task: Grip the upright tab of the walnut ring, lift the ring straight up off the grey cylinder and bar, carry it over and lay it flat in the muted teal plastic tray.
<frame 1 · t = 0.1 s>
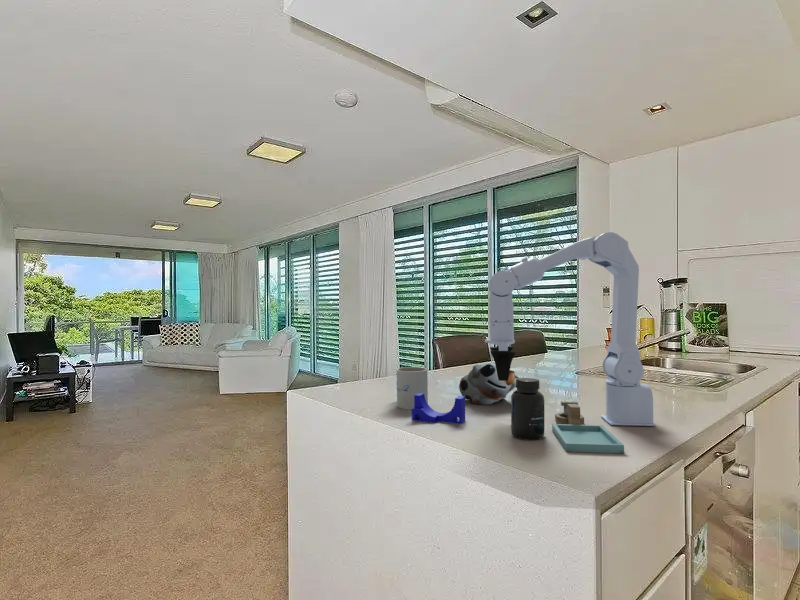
hand: (502, 377, 109), 10 cm above the counter, fingers open, 7 cm apart
mug: (410, 404, 126), on the counter
lucky cat figurine: (488, 402, 128), on the counter
tray: (585, 441, 91), on the counter
grey cylinder and bar: (569, 422, 105), on the counter
supplement bottle: (528, 437, 95), on the counter
ring: (569, 422, 105), on the counter
blue curved cradle: (438, 422, 108), on the counter
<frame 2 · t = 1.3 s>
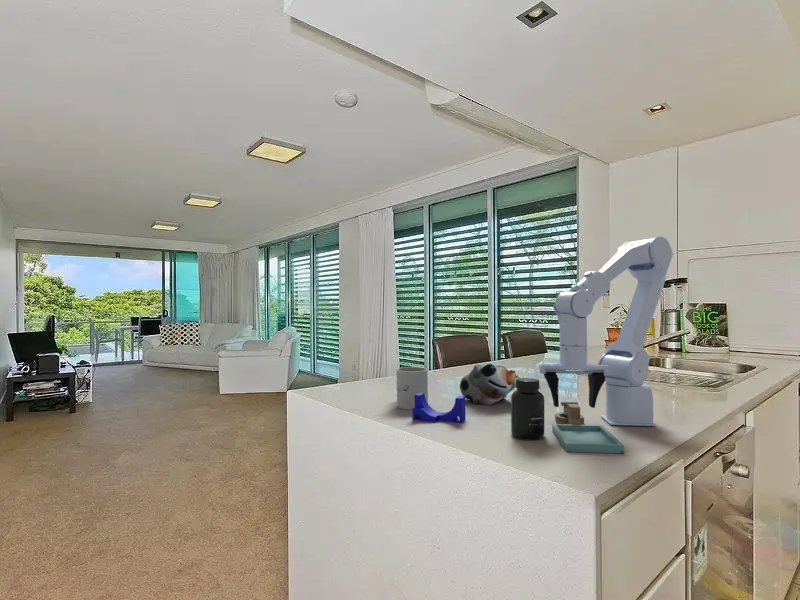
hand: (573, 406, 100), 5 cm above the counter, fingers open, 7 cm apart
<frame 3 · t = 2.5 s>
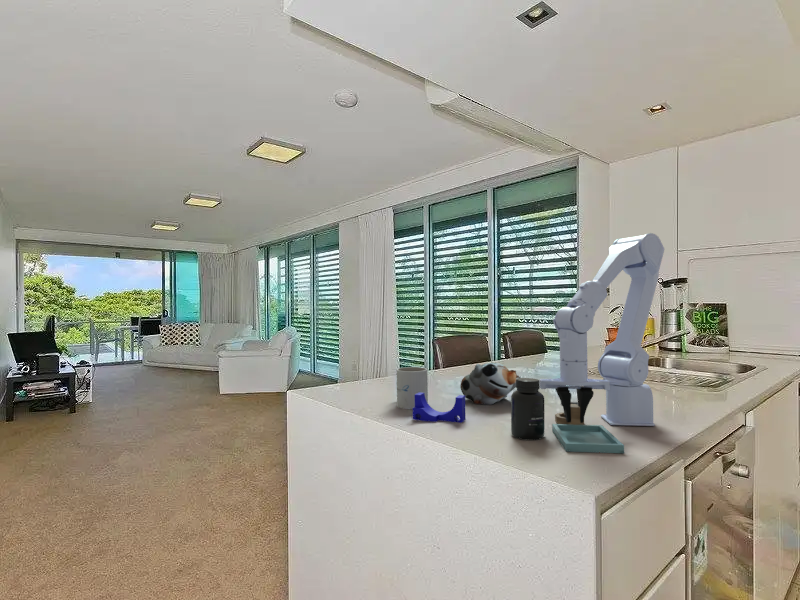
hand: (574, 421, 100), 2 cm above the counter, fingers closed on ring
ring: (569, 422, 105), on the counter, touching gripper
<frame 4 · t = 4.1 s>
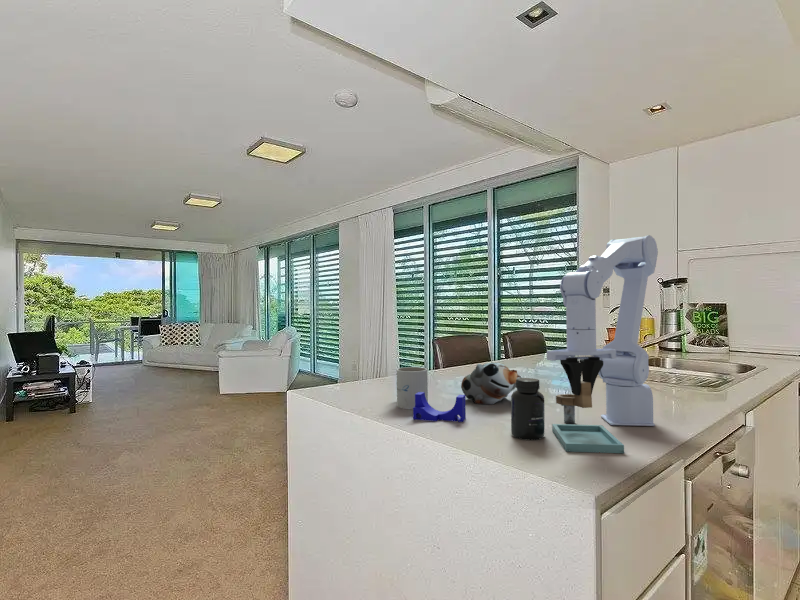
hand: (581, 394, 94), 9 cm above the counter, fingers closed on ring
ring: (571, 403, 97), point 6 cm above the counter, touching gripper
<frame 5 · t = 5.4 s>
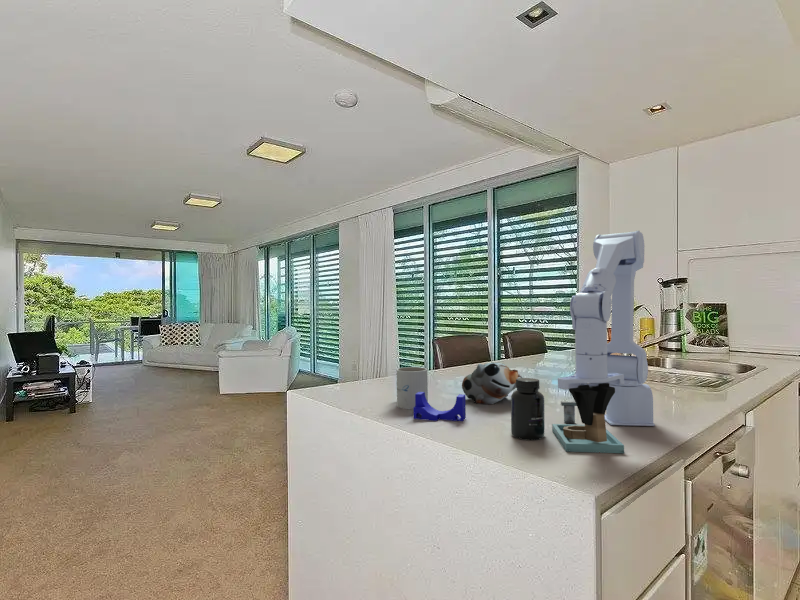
hand: (592, 423, 87), 5 cm above the counter, fingers closed on ring
ring: (579, 436, 91), point 1 cm above the counter, tilted 6°, touching gripper
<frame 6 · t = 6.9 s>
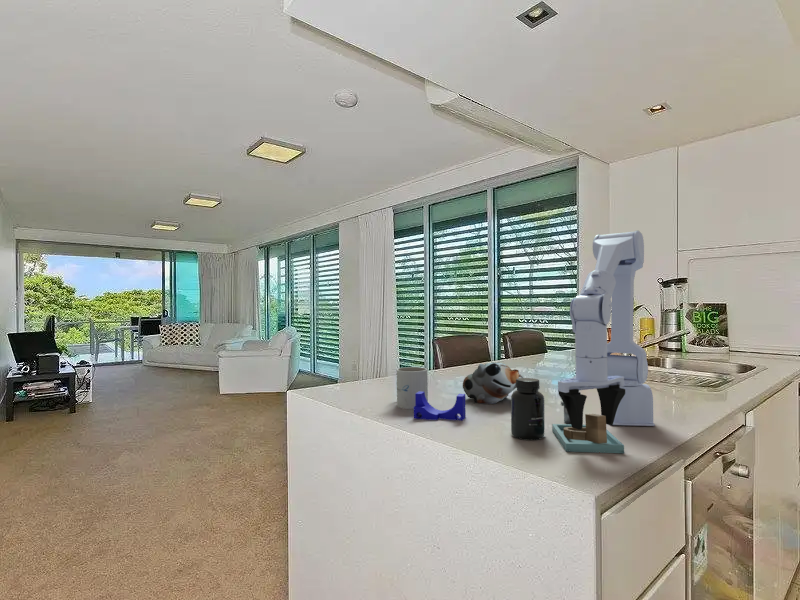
hand: (592, 426, 87), 4 cm above the counter, fingers open, 7 cm apart
ring: (579, 437, 91), point 1 cm above the counter, tilted 7°, touching tray
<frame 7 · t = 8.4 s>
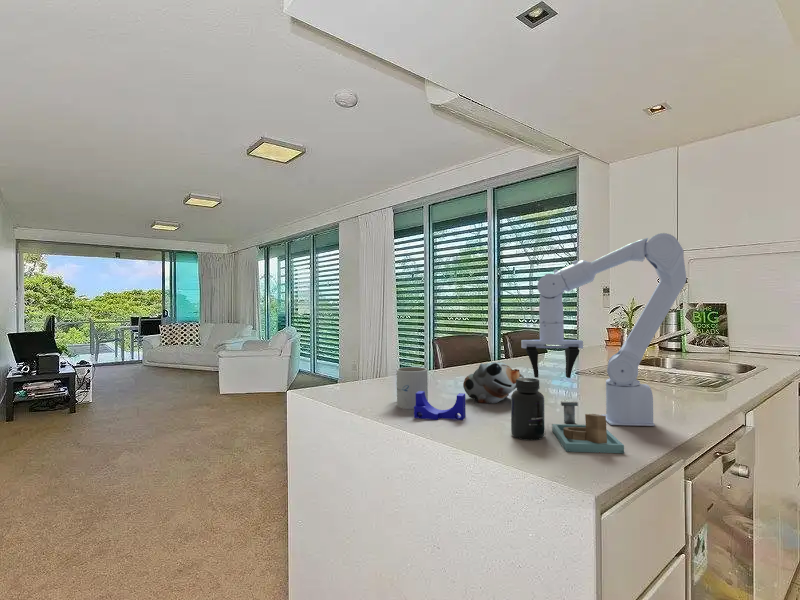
hand: (552, 377, 112), 9 cm above the counter, fingers open, 7 cm apart
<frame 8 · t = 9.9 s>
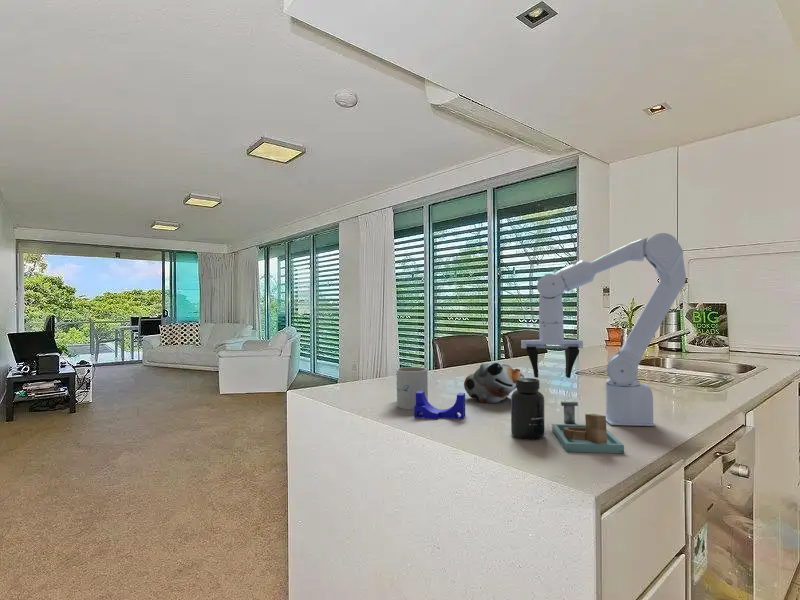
hand: (552, 377, 112), 9 cm above the counter, fingers open, 7 cm apart
at the end: ring 2.3 cm from the target spot on the tray, point 0.9 cm above the tray's base; ring tilted 7°; the gripper is holding nothing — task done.
